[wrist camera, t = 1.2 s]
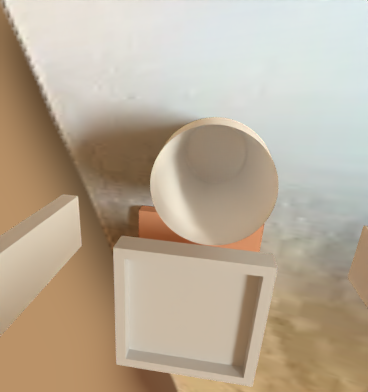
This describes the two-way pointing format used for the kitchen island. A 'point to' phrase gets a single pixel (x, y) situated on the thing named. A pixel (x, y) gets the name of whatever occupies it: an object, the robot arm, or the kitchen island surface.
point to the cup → (214, 182)
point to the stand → (191, 303)
